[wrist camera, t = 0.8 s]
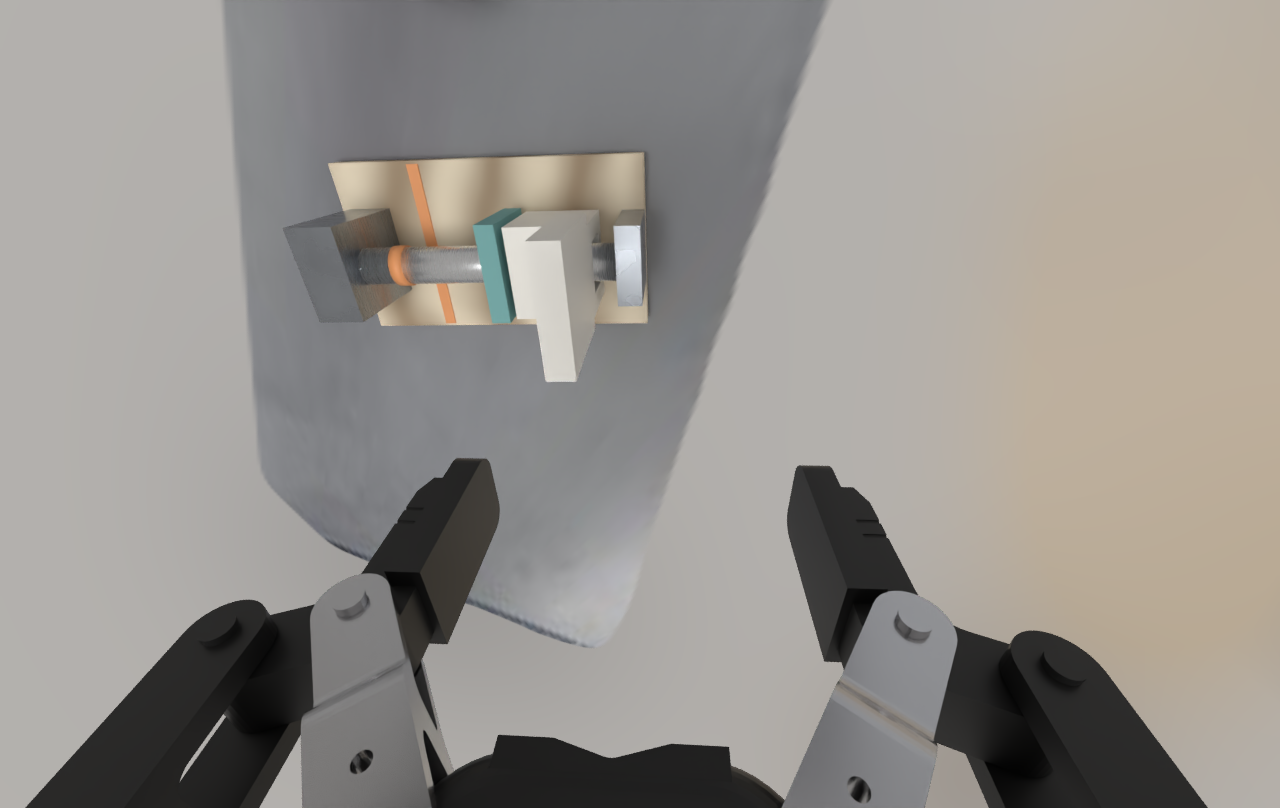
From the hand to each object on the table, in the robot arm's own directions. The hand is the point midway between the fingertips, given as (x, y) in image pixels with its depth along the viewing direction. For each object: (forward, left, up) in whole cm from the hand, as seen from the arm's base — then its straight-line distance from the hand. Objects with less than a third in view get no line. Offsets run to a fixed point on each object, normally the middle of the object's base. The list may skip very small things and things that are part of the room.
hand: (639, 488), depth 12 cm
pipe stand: (0, -12, -28) cm, 30 cm away
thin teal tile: (0, -10, -25) cm, 27 cm away
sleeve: (0, -7, -25) cm, 26 cm away
